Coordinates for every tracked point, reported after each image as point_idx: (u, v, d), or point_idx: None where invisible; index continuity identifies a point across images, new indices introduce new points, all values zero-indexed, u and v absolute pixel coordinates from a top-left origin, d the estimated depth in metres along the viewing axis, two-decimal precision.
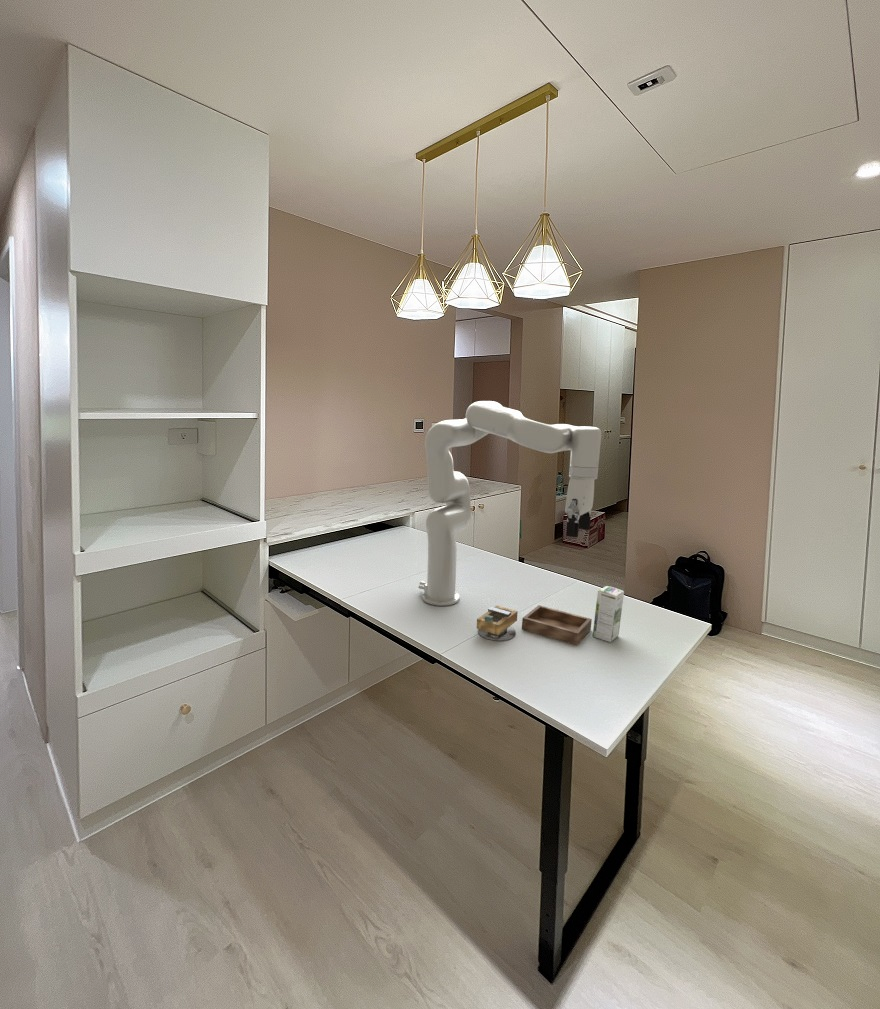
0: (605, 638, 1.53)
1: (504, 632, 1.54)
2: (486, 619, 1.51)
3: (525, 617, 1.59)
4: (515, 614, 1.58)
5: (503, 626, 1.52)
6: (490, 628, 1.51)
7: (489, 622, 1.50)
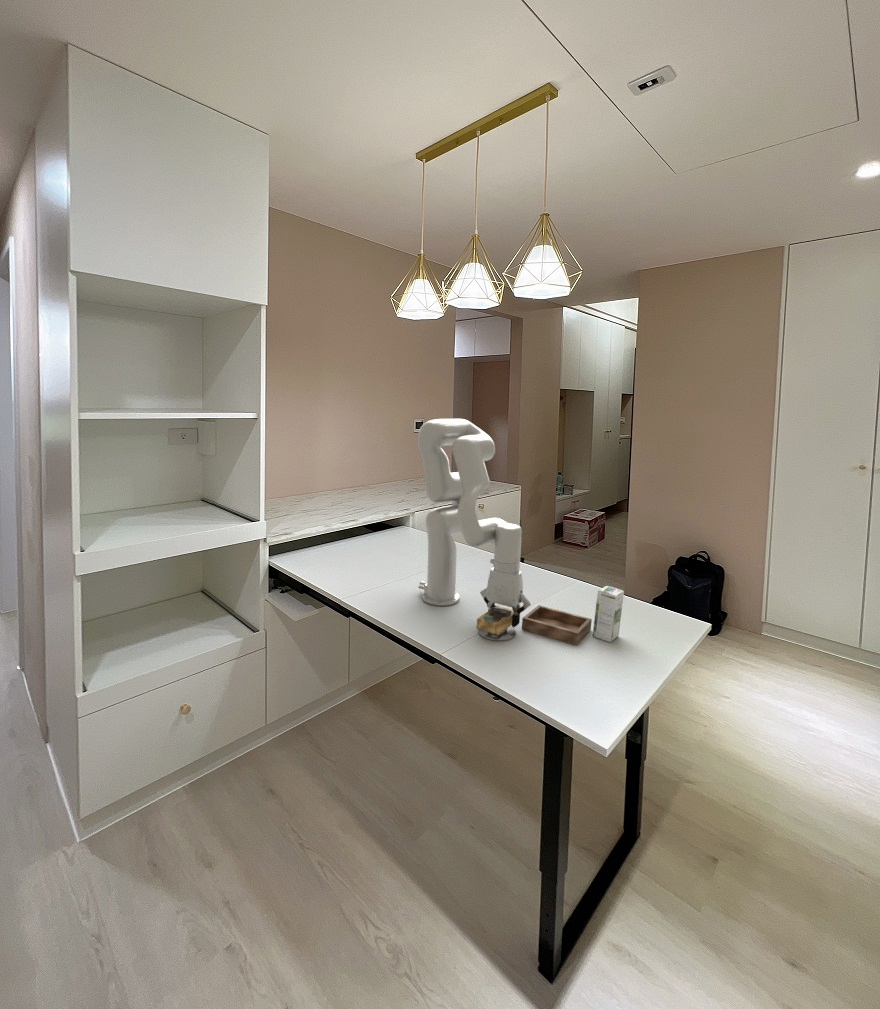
0: (605, 638, 1.53)
1: (504, 632, 1.54)
2: (486, 619, 1.51)
3: (525, 617, 1.59)
4: None
5: (503, 626, 1.52)
6: (490, 628, 1.51)
7: (489, 622, 1.50)
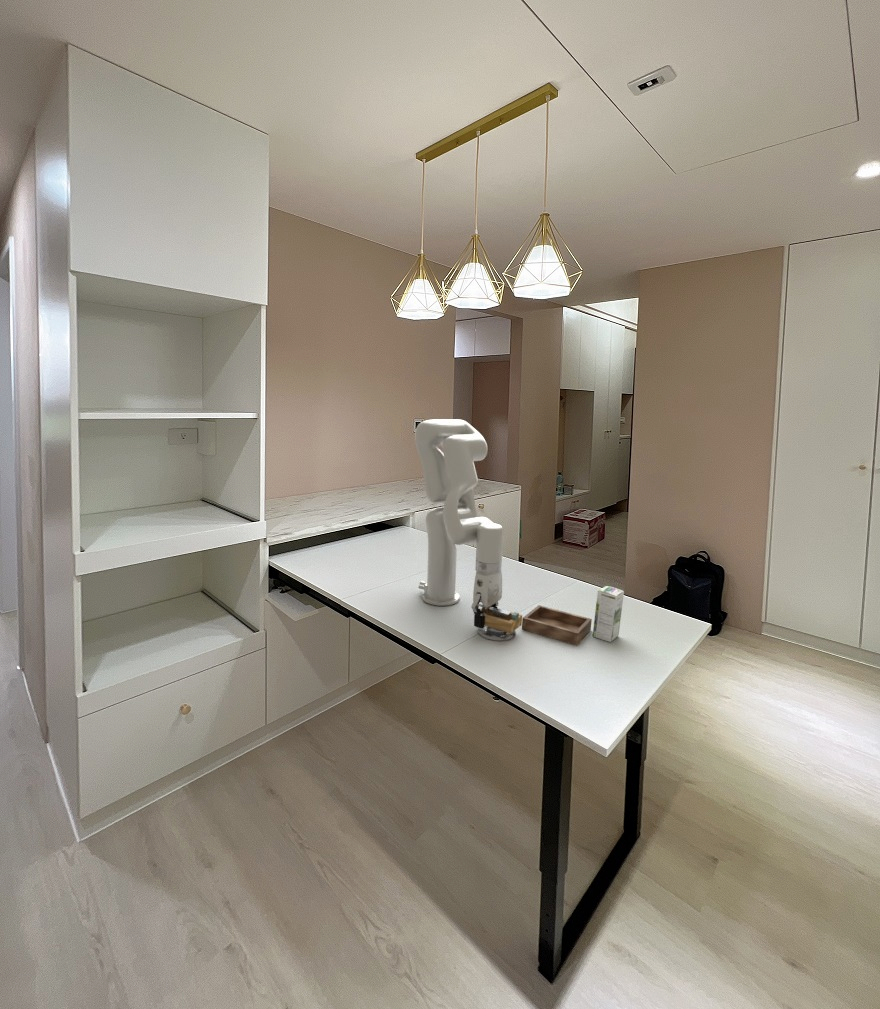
0: (605, 638, 1.53)
1: (504, 632, 1.54)
2: (516, 617, 1.52)
3: (525, 617, 1.59)
4: None
5: None
6: (518, 623, 1.54)
7: (517, 618, 1.53)
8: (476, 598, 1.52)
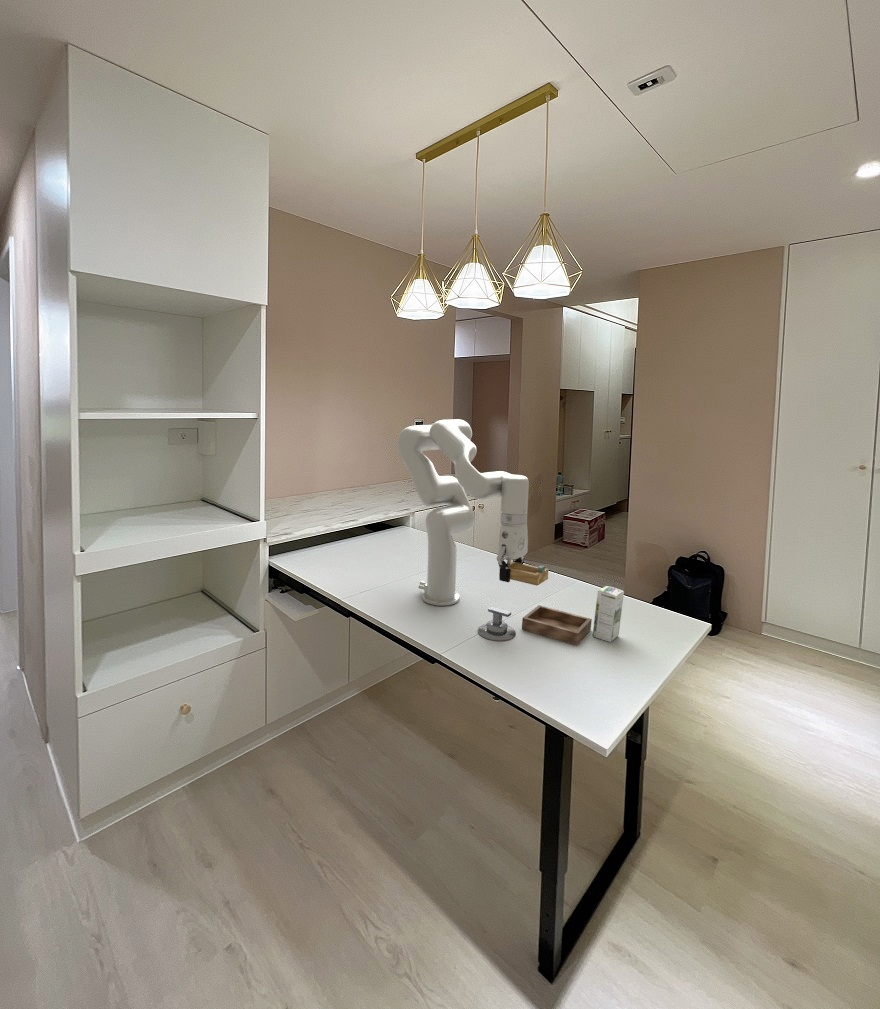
0: (605, 638, 1.53)
1: (504, 632, 1.54)
2: (542, 570, 1.49)
3: (525, 617, 1.59)
4: None
5: None
6: (544, 576, 1.51)
7: (544, 571, 1.50)
8: (501, 550, 1.50)
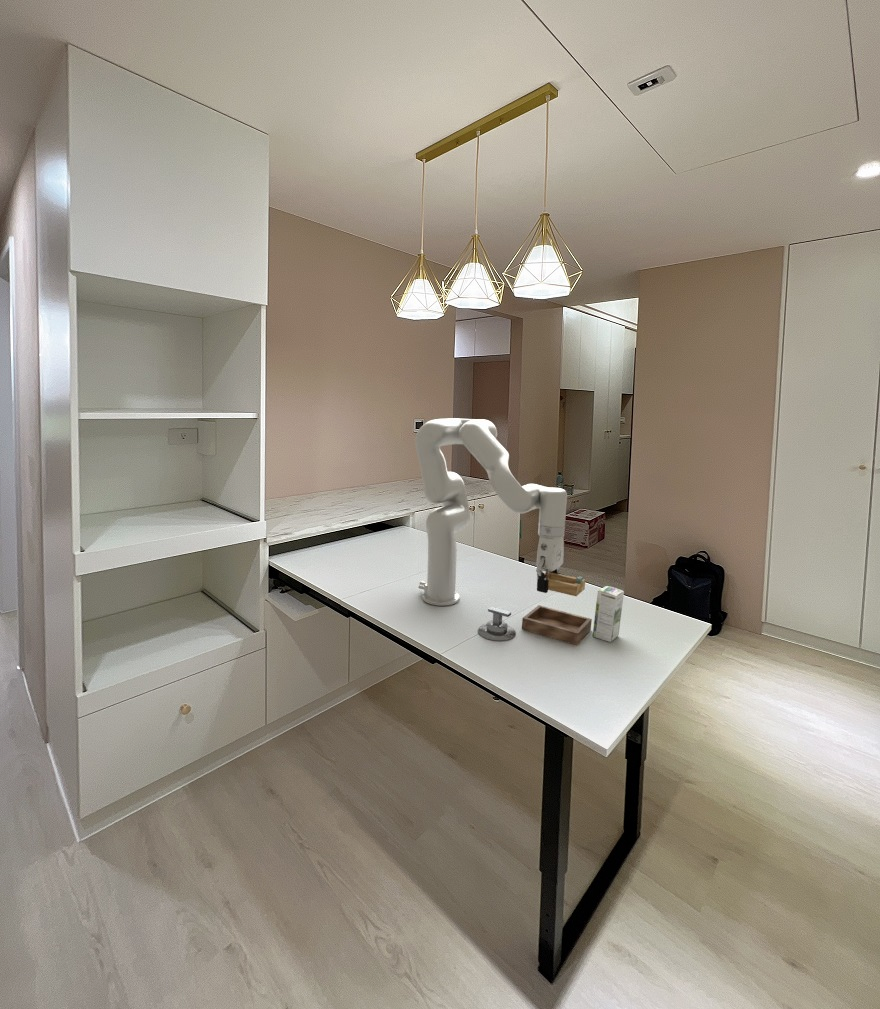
0: (605, 638, 1.53)
1: (504, 632, 1.54)
2: (580, 581, 1.52)
3: (525, 617, 1.59)
4: None
5: None
6: (582, 587, 1.54)
7: (581, 582, 1.53)
8: (540, 562, 1.52)
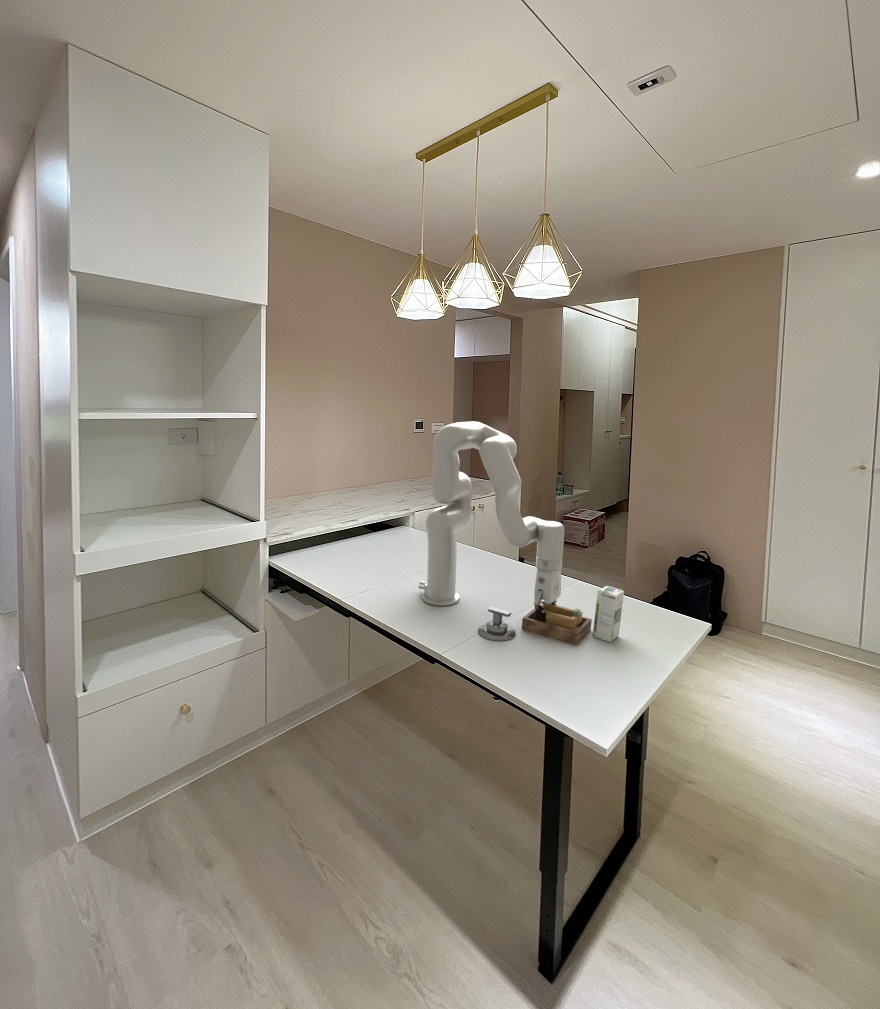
0: (605, 638, 1.53)
1: (504, 632, 1.54)
2: (577, 614, 1.55)
3: (525, 617, 1.59)
4: None
5: None
6: (579, 619, 1.56)
7: (579, 615, 1.56)
8: (538, 595, 1.54)
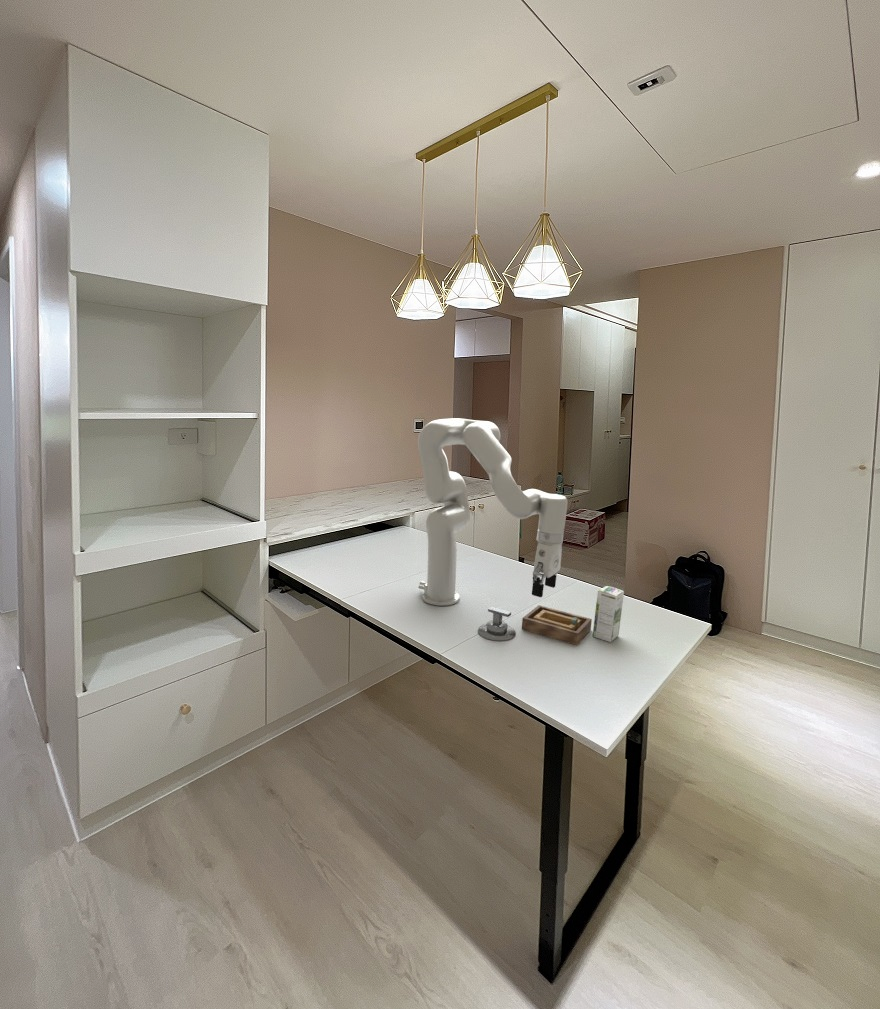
0: (605, 638, 1.53)
1: (504, 632, 1.54)
2: (576, 622, 1.55)
3: (525, 617, 1.59)
4: None
5: None
6: (577, 628, 1.57)
7: (577, 623, 1.56)
8: (538, 566, 1.53)
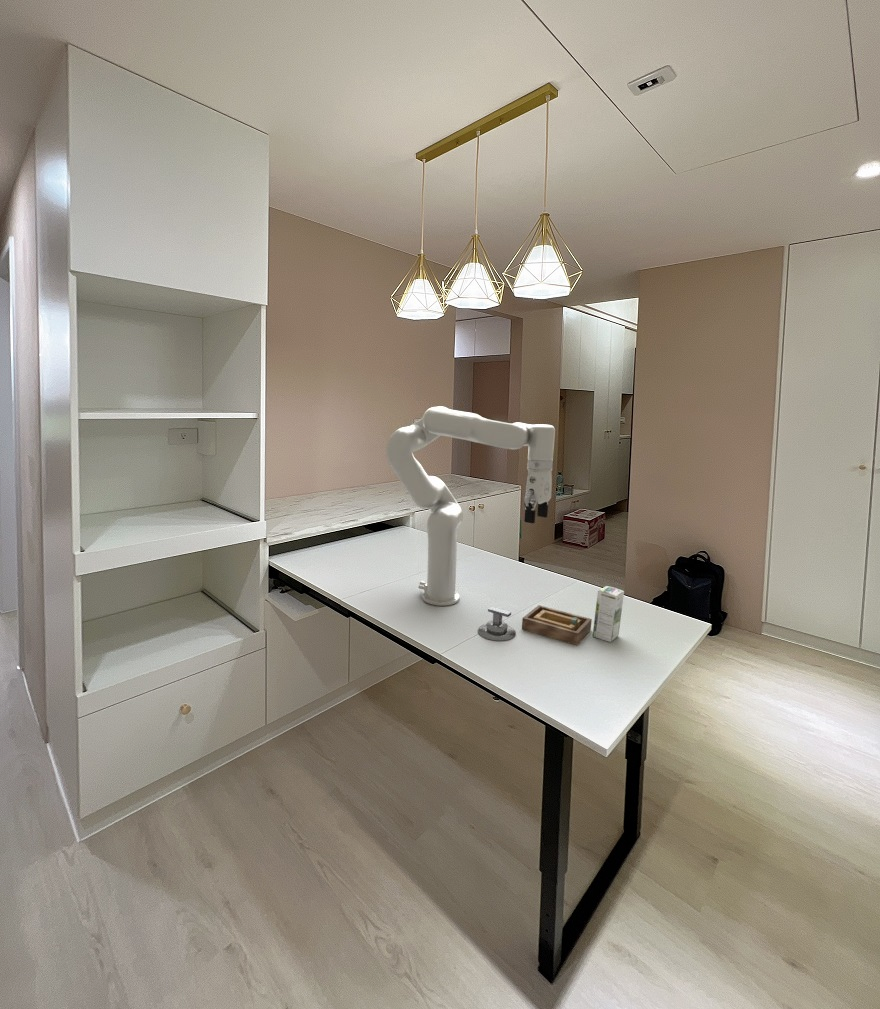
0: (605, 638, 1.53)
1: (504, 632, 1.54)
2: (576, 622, 1.55)
3: (525, 617, 1.59)
4: None
5: None
6: (577, 628, 1.57)
7: (577, 623, 1.56)
8: (529, 492, 1.60)
